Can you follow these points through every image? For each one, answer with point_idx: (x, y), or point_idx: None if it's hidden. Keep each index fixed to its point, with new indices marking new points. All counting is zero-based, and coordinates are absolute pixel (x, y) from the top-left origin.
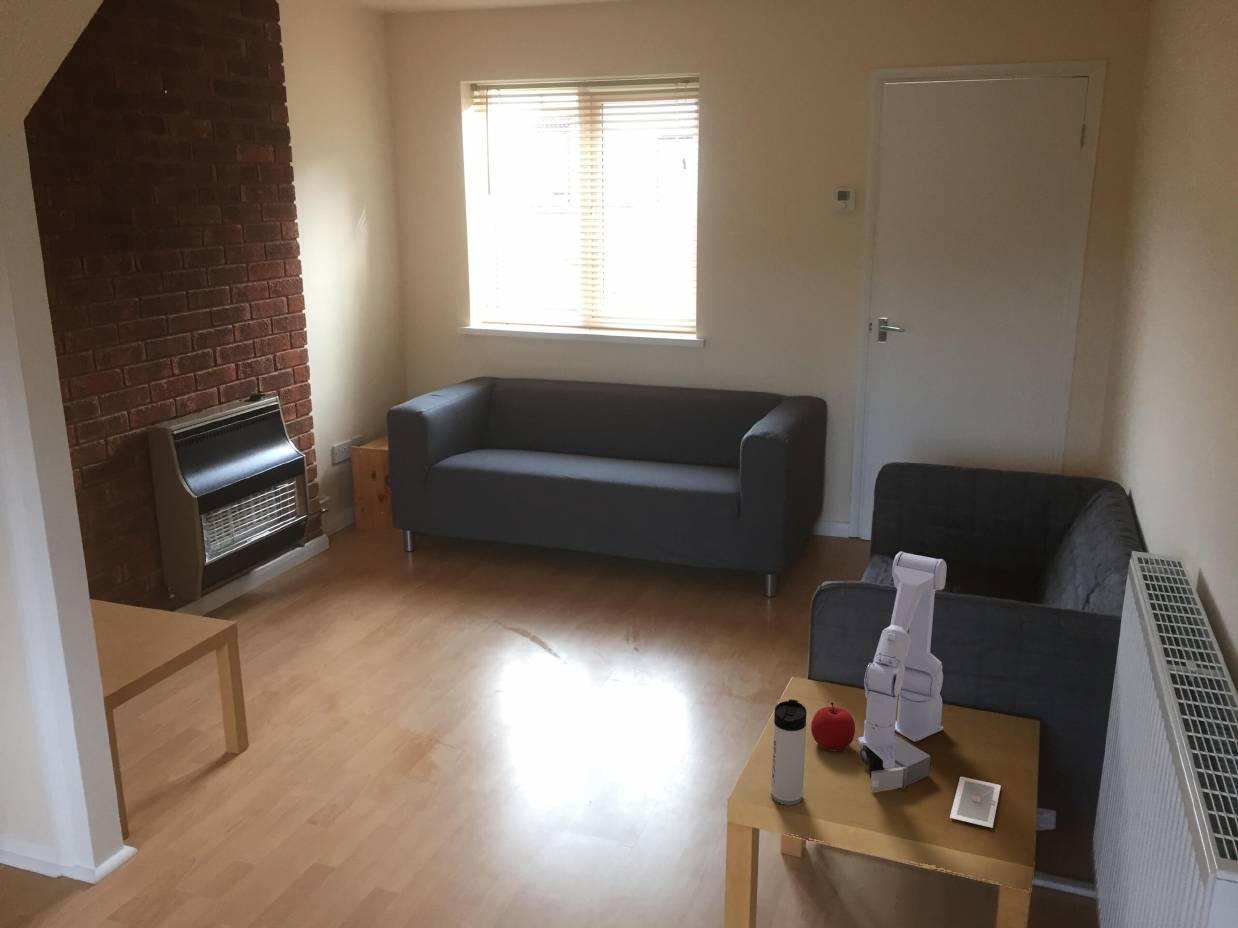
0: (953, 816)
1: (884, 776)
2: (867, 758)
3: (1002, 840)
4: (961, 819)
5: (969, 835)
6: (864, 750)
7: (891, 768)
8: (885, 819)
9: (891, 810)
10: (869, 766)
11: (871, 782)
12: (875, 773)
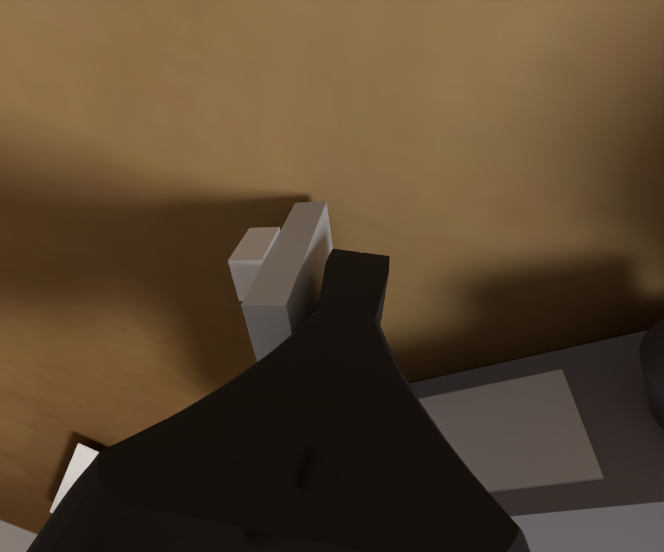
0: (90, 455)
1: None
2: (358, 386)
3: (11, 496)
4: (74, 467)
5: (4, 441)
6: (271, 532)
7: (460, 428)
8: (2, 167)
9: (111, 241)
10: (322, 321)
11: (302, 235)
12: (249, 321)
